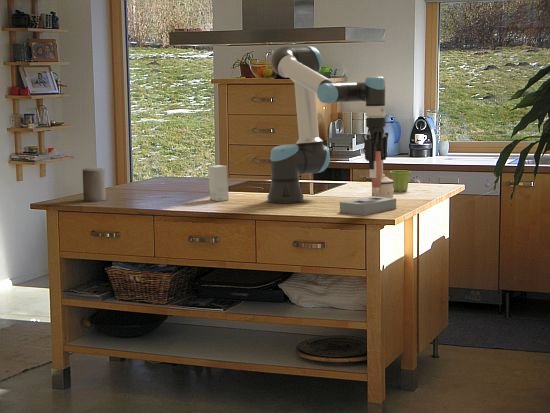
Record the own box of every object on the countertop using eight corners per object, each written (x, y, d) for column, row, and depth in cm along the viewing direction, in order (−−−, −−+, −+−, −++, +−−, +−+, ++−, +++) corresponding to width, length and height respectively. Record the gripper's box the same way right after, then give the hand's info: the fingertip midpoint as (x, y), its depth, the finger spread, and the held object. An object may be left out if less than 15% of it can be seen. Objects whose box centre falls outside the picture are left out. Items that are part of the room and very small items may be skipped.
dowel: (370, 187, 371) (369, 151, 369) (375, 186, 373) (375, 150, 372) (377, 187, 368) (376, 151, 366) (383, 186, 371) (382, 151, 369)
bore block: (339, 212, 366) (339, 202, 365) (371, 206, 380) (371, 196, 380) (364, 215, 358) (364, 204, 357) (396, 208, 372) (396, 198, 371)
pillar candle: (79, 201, 412) (77, 166, 410) (91, 198, 421) (90, 164, 419) (98, 202, 409) (97, 167, 406) (110, 199, 418) (109, 165, 415)
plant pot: (410, 189, 428) (410, 170, 427) (411, 192, 419) (411, 172, 418) (389, 189, 429) (389, 170, 428) (390, 192, 420) (390, 172, 418)
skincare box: (229, 200, 404) (228, 165, 402) (215, 201, 402) (214, 166, 400) (221, 198, 412) (220, 164, 410) (208, 199, 409) (207, 165, 407)
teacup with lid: (375, 200, 395) (375, 172, 394) (396, 201, 392) (396, 173, 390) (366, 204, 384) (366, 176, 383) (387, 205, 381) (387, 176, 379)
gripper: (370, 118, 359) (370, 179, 362) (396, 116, 371) (396, 175, 374) (354, 117, 364) (355, 178, 367) (380, 115, 376) (381, 174, 379)
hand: (376, 177), depth 370 cm, fingers closed on dowel, 3 cm apart
